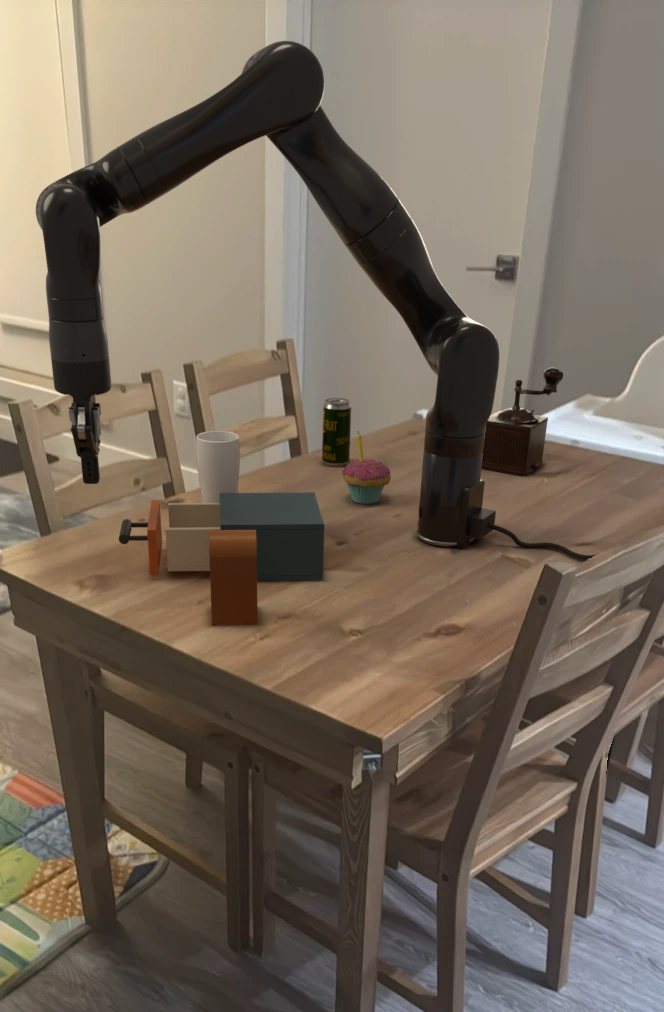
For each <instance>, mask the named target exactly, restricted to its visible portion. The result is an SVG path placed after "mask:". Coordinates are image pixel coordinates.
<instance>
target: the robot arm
mask: <svg viewBox="0 0 664 1012" xmlns="http://www.w3.org/2000/svg"><path fill="white" fill-rule="evenodd" d="M325 83H326V81H325V75H324V70H323V66H322V64H321V63H320V61H319V59H318V57H317V56H316V55H315V53H314V52H313V51H312V50H311V49H309V47H308V46H305V45H304V44H302V43H300V42H296V41H292V40H280V41H275V42H273V43H270V44H268V45H266V46H265V47H263V48H261V49H259V50H258V51H256V52H255V53H253V54H252V55H251V56H250V57H249V58H248V59H247V61H246V62H245V63H244V66H243V68H242V71H241V74H240V75H238V76H237V77H236V78H235V79H234V80H232V82H230V83H229V84H227V85H225V86H224V87H223V88H222V89H219V91H217V92H215V93H214V94H213V95H211V96H209V97H207V98H206V99H204V100H202V101H201V102H199V103H197V104H195V105H194V106H191V107H190V108H188V109H186V110H184V111H181V112H180V113H177V114H175V115H174V116H171V117H169V118H167V119H165V120H164V121H161V122H159V123H157V124H155V125H153V126H151V127H149V128H148V129H145V130H144V131H142V132H140V133H139V134H137V135H135V136H133V137H132V138H130V139H129V140H127V141H125V142H123V143H122V144H120V145H119V146H116V147H115V148H113V149H111V150H110V151H109V152H107V153H106V154H104V155H103V156H102V157H101V158H99V159H98V160H96V161H94V162H92V163H89V164H88V165H85V166H84V167H81V168H79V169H77V170H75V171H73V172H71V173H69V174H67V175H65V176H63V177H61V178H58V179H57V180H55V181H54V182H52V183H51V184H49V185H47V186H46V187H45V188H44V189H43V190H41V192H40V194H39V195H38V197H37V199H36V202H35V217H36V221H37V223H38V226H39V228H40V229H41V231H42V238H43V244H44V252H45V261H46V268H47V273H46V277H45V294H46V302H47V314H48V342H49V352H50V360H51V371H52V378H53V387H54V390H55V391H56V392H57V393H59V394H61V395H65V396H66V395H68V396H70V397H72V402H70V407H68V417H69V419H68V420H69V421H70V422H71V427H70V432H71V435H72V439H73V443H74V448H75V453H76V455H77V456H76V457H79V458H80V463H81V473H82V475H81V476H82V482H83V484H84V485H85V484H86V485H98V484H99V482H100V478H101V475H100V462H99V455H100V452H101V451H100V450H101V449H100V446H101V438H100V437H101V434H102V428H101V427H102V425H101V415H102V403H101V402H96V400H97V399H96V396H99V395H103V394H106V393H108V392H109V391H110V390H111V389H112V377H111V376H112V375H111V365H110V364H111V363H110V355H109V354H110V353H109V352H110V351H109V338H108V333H107V328H106V322H105V318H104V317H105V314H104V303H103V302H104V301H103V291H102V285H101V284H102V283H101V275H100V270H101V269H100V268H101V227H102V226H105V225H106V224H108V223H109V222H111V221H112V220H115V219H116V218H117V217H119V216H121V215H122V216H123V215H125V214H131V213H134V212H135V211H139V210H141V209H143V208H144V207H146V206H147V205H149V204H151V203H153V202H155V201H156V200H158V199H159V198H161V197H163V196H164V195H166V194H168V193H169V192H171V191H172V190H174V189H176V188H177V187H179V186H180V185H182V184H183V183H185V182H186V181H189V179H191V178H193V177H194V176H195V175H197V174H198V173H200V172H202V171H204V170H205V169H206V168H208V167H209V166H210V165H213V164H214V163H215V162H217V161H219V160H220V159H222V158H224V157H225V156H227V155H229V154H230V153H232V152H234V151H236V150H237V149H239V148H242V147H243V146H245V145H247V144H249V143H251V142H254V141H255V140H258V139H260V138H262V137H263V138H264V137H267V139H268V140H269V141H270V142H271V143H272V144H273V146H274V147H275V148H276V149H277V150H278V151H279V153H280V154H281V155H282V156H283V157H284V159H286V160H287V162H288V164H290V165H291V167H292V168H293V170H294V171H295V172H296V173H297V174H298V176H299V177H300V178H301V180H302V181H303V183H304V185H305V186H306V188H307V190H308V191H309V192H310V194H311V196H312V197H313V199H314V201H315V202H316V204H317V205H318V208H319V209H320V210H321V212H322V213H323V215H324V216H325V218H326V219H327V221H328V222H329V224H330V225H331V226H332V228H333V230H334V232H336V234H337V236H338V238H339V239H340V240H341V242H342V243H343V245H344V246H345V248H346V249H347V250H348V252H349V253H350V255H351V256H352V258H353V259H354V260H355V262H356V263H357V264H358V266H359V267H360V268H361V270H362V271H363V272H364V274H366V276H367V277H368V278H369V280H370V281H371V282H372V283H373V285H374V286H375V287H376V289H377V290H378V291H379V292H380V294H382V295H383V297H384V298H385V299H386V300H387V301H388V302H389V303H390V304H391V305H392V307H393V308H394V309H395V310H396V311H397V313H398V314H399V316H400V317H401V319H402V320H403V322H404V324H405V325H406V327H407V329H408V330H409V332H410V333H411V335H412V338H413V339H414V340H415V342H416V344H417V346H418V348H419V350H420V352H421V353H422V355H423V358H424V359H425V361H426V363H427V365H428V366H429V368H430V370H432V372H434V374H435V375H436V376H437V380H436V388H435V389H436V390H435V396H434V397H435V398H434V399H435V400H434V404H433V406H432V407H431V408H429V409H428V410H427V413H426V417H425V429H424V441H423V456H422V468H421V480H420V492H419V493H420V494H419V504H418V507H417V508H418V509H417V511H418V517H417V529H416V538H418V540H420V541H421V542H423V543H426V544H428V545H433V546H438V547H443V548H444V547H445V548H460V549H465V548H466V547H467V546H469V545H470V544H471V543H473V542H474V541H476V540H477V539H478V540H479V539H480V540H481V539H483V538H484V537H486V536H487V535H488V534H490V533H491V532H493V531H496V532H499V533H501V534H503V535H506V536H508V537H509V538H511V540H512V541H513V542H514V543H515V545H517V546H519V547H521V548H525V549H541V548H548V549H549V548H550V549H553V550H556V551H557V550H558V551H561V552H562V553H563V554H566V555H567V556H570V557H571V558H574V559H578V560H581V561H582V560H583V561H588V560H587V559H589V558H592V557H593V556H595V555H596V554H582V553H578V552H575V551H573V550H571V549H569V548H567V547H566V546H563V545H560V544H558V543H553V542H533V543H532V542H531V543H530V542H525V541H521V540H520V539H519V538H518V537H517V535H516V534H515V533H514V532H512V531H510V529H509V530H508V529H506V528H504V527H501V526H499V525H497V524H495V523H496V513H497V511H496V510H494V509H489V508H484V507H483V503H484V493H485V485H486V484H485V483H486V482H485V480H484V479H482V478H481V476H482V469H483V468H482V458H483V449H484V440H485V432H486V424H487V421H488V419H489V417H490V416H491V415H492V414H493V413H492V412H493V409H494V403H495V396H496V389H497V383H498V377H499V369H500V346H499V342H498V339H497V337H496V335H495V334H494V333H493V331H492V330H491V329H490V328H488V327H487V326H485V325H483V324H481V323H480V322H477V321H476V320H473V319H472V318H470V317H469V316H468V315H467V314H466V312H464V310H462V309H461V307H460V306H459V305H458V304H457V302H456V301H455V300H454V298H453V297H452V296H451V295H450V293H449V292H448V291H447V290H446V288H445V287H444V285H443V284H442V281H441V280H440V279H439V277H438V275H437V273H436V271H435V269H434V266H433V263H432V260H431V257H430V255H429V252H428V249H427V247H426V246H427V245H426V244H425V242H424V239H423V237H422V234H421V232H420V231H419V229H418V227H417V225H416V223H415V222H414V220H413V218H412V217H411V215H410V213H409V211H407V209H406V207H405V206H404V205H403V203H402V201H401V200H400V199H399V197H398V195H396V193H395V192H394V190H393V189H392V187H390V185H389V184H388V182H387V181H386V180H385V179H384V178H383V177H382V176H381V175H380V174H379V172H377V171H376V170H375V169H374V168H373V167H372V166H371V165H370V164H369V163H368V162H367V161H365V159H364V158H362V157H361V156H360V155H359V154H358V153H357V152H356V151H355V150H354V149H352V148H351V146H350V145H349V144H347V142H346V141H345V140H344V139H343V137H341V135H340V134H339V132H338V131H337V129H336V128H335V127H334V125H333V124H332V122H331V121H330V119H329V117H328V115H327V113H326V112H325V110H324V108H323V107H322V105H321V103H322V100H323V98H324V93H325ZM615 739H616V735H615V736H614V738H613V741H612V744H611V747H610V750H609V753H608V760H607V771H606V778H607V776H608V771H609V766H610V761H611V756H612V751H613V747H614V744H615V743H614V742H615Z"/></svg>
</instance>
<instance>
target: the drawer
mask: <svg viewBox="0 0 664 1012" xmlns="http://www.w3.org/2000/svg"><path fill="white" fill-rule="evenodd" d="M167 509H168V510H167V511H168V527H165V543H166V561H167V572H208V571H209V572H210V557H209V530H221V525H220V503H202V502H168V504H167ZM161 516H162V514H161V500H159V499H155V500H153V499H152V500H151V502H150V509H149V515H148V521H147V522H146V521H145V522H143V521H142V522H141V521H140V522H139V521H138V522H136V521H135V522H132V520H131V519H129V518H125V519H123V520H122V521H121V526H120V530H119V535H118V542H119V543H120V544H121V545H127V544H129V542H130V541H131V542H136V541H137V542H139V541H140V542H141V541H144V542H145V541H147V548H148V564H149V576H159V574H160V569H161V568H160V566H161V557H162V550H163V549H162V548H163V535H162V534H163V533H162V517H161ZM132 528H146V534H147V535H146V534H145V535H144V534H143V535H132V534H131V533H132Z"/></svg>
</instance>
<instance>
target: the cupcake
mask: <svg viewBox="0 0 664 1012" xmlns="http://www.w3.org/2000/svg"><path fill="white" fill-rule="evenodd" d="M356 437H357V447H358V457H359V459H355V460H352V461H351V462H348V464H347V465H345V466H343V469H342V470H341V472H342V473H341V475H342V477H343V480H344V482H345V483H346V484H347V487H348V489H349V490H348V491H349V493H350V496H351V500H352V501H353V502H355V503H357V504H361V505H372V504H376V503H378V502H379V500H380V497H381V495H382V492H383V490H384V487H385V486H387V485H389V484H390V481H391V478H392V474H391V473H392V471H391V470H390V468H389V467H388V465H386V464H384V463H383V462H382V461H379V460H376V459H372V458H369V459H367V458H366V459H365V458H364V452H363V441H362V435H361V434H360V431H359V429H357V436H356Z"/></svg>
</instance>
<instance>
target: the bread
mask: <svg viewBox="0 0 664 1012" xmlns="http://www.w3.org/2000/svg"><path fill="white" fill-rule="evenodd" d="M209 557H210V571H209V581H210V608H211V609H210V610H211V625H212V626H236V625H237V626H238V625H239V626H241V625H245V626H246V625H258V623H259V622H258V616H259V615H258V613H259V612H258V581H257V539H256V530H209Z"/></svg>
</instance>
